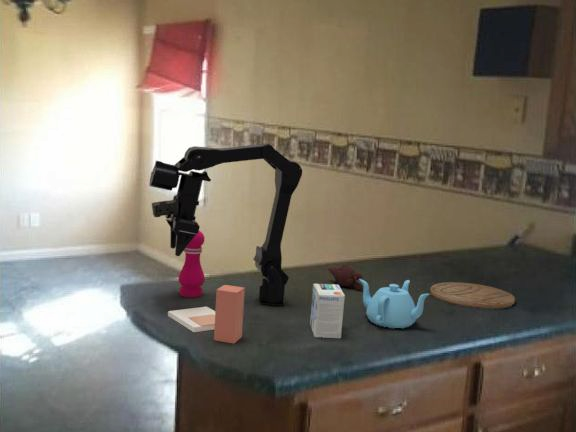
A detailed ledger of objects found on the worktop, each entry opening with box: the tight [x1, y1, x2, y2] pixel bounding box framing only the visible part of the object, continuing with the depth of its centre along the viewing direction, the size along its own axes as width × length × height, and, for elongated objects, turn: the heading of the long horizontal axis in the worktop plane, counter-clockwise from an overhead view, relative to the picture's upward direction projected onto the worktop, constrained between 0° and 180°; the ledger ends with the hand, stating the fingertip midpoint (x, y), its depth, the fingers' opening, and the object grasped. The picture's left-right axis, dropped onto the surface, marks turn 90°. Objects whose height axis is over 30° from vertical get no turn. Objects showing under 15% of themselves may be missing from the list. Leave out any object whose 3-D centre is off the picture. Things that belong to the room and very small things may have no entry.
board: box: [167, 306, 215, 333], centre depth 180 cm, size 14×11×1 cm
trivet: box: [429, 281, 516, 308], centre depth 222 cm, size 25×25×2 cm
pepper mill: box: [178, 230, 205, 298], centre depth 202 cm, size 7×7×20 cm
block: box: [213, 284, 246, 344], centre depth 168 cm, size 5×5×12 cm
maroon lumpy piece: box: [327, 264, 364, 292], centre depth 225 cm, size 7×7×15 cm
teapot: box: [358, 278, 430, 329], centre depth 190 cm, size 15×15×10 cm
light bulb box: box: [309, 283, 346, 339], centre depth 179 cm, size 11×7×11 cm, turn 5°
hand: (174, 252), depth 191 cm, fingers open, 9 cm apart
